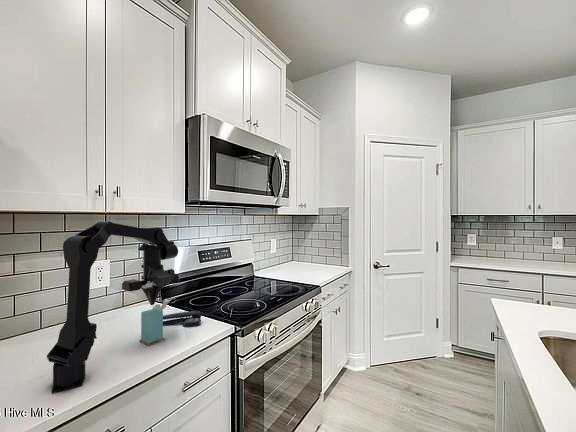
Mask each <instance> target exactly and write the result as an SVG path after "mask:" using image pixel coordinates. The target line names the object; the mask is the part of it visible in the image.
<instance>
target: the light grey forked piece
mask: <svg viewBox="0 0 576 432" xmlns="http://www.w3.org/2000/svg"><path fill="white" fill-rule="evenodd" d="M169 302H170V300H169V299H167V298H165V299H164V300H163V302H162V304H159V303H158V304H157V303H156V304H154V305H153V307H152V309H154V308H155V309H158V310H161V311H163V312H164V309H166V307H167V305H168V303H169Z"/></svg>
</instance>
